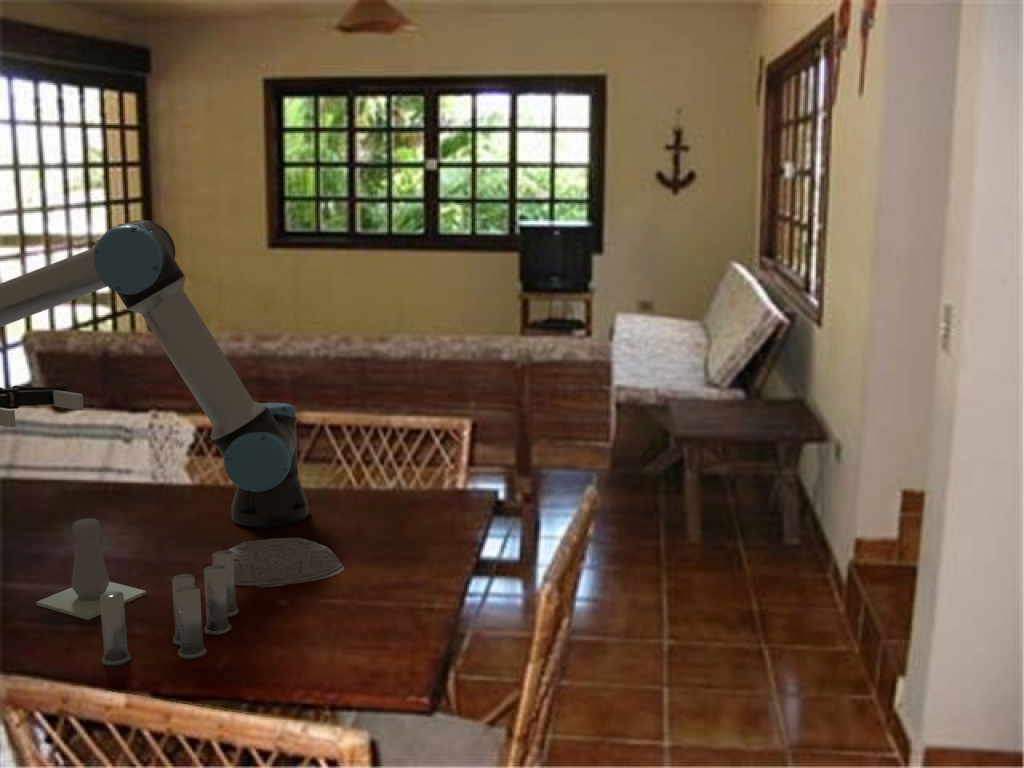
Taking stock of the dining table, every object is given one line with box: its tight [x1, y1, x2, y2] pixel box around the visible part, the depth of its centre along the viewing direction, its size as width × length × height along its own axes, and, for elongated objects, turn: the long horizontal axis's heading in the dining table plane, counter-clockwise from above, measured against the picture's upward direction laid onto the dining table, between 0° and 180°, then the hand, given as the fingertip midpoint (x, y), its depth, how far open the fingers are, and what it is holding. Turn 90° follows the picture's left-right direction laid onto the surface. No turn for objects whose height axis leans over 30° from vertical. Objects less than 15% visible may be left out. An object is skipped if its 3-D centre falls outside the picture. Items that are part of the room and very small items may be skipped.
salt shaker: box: [71, 517, 110, 601], centre depth 187 cm, size 6×6×13 cm
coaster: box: [35, 580, 147, 621], centre depth 188 cm, size 12×12×1 cm
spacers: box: [100, 549, 240, 667], centre depth 172 cm, size 21×17×10 cm
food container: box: [211, 537, 345, 588], centre depth 201 cm, size 16×25×7 cm, turn 103°
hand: (48, 410), depth 190 cm, fingers open, 13 cm apart
